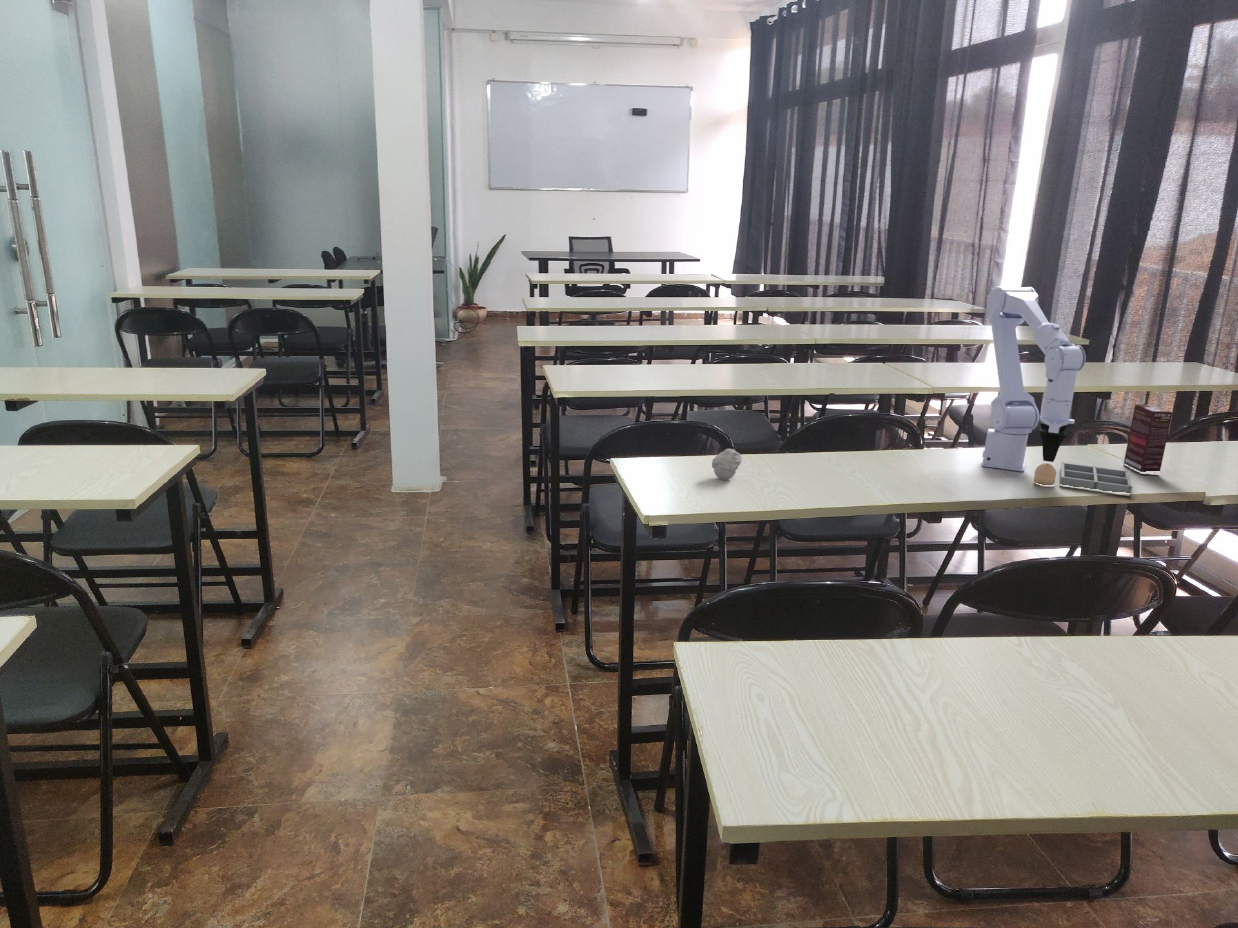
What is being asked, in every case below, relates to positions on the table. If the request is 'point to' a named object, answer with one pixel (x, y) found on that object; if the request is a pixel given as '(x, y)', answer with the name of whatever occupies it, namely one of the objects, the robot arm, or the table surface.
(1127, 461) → the supplement box
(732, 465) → the grey rounded lump
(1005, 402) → the robot arm
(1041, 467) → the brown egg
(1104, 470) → the gray divided compartment tray
